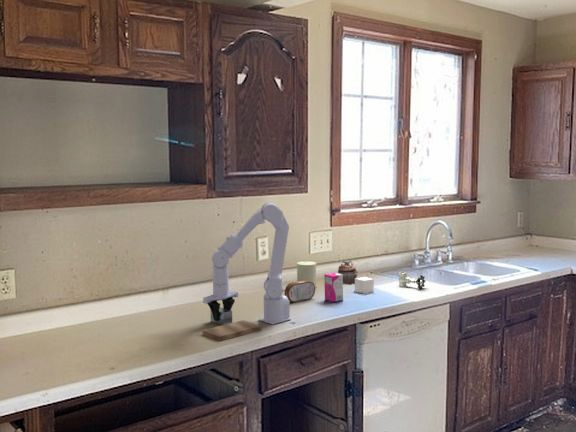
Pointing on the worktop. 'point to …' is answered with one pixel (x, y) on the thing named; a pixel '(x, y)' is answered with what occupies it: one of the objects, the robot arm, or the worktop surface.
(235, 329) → the stand
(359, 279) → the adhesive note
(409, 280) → the valve
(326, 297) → the supplement box
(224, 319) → the block
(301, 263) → the can
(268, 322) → the robot arm
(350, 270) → the cupcake
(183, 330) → the worktop surface
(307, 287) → the tin
